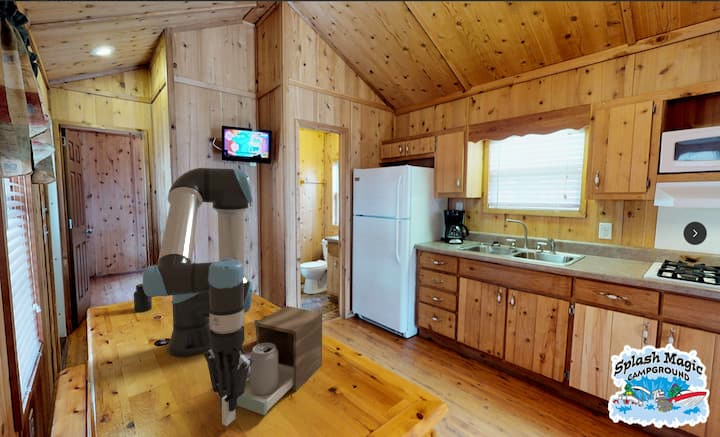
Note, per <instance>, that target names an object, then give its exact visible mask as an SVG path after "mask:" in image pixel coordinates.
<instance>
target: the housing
mask: <svg viewBox="0 0 720 437" xmlns="http://www.w3.org/2000/svg"><path fill="white" fill-rule="evenodd" d="M266 316H267V317H266ZM266 316H265V317H266V318H264V317H263V318H264V319H263V318H261V319H262V320H261V319H259V320H260V321H258V322H257V338H256V345H258V344H261V343H272V344H274V345H275V346H276V349H277V350H278V363H281V364H284V365H288V366H291V367H294V385H293V386H292V387H291V388H290V389H289V390H288V391H292V392H297V391H298V390H300V388H301V387H302V386H304V385H305V383H306V382H307V381H308V380H309V379H310V378H311V377H312V376H313V375H315V373H316V372H317V371H319V369H320V368H322V366H323V312H320V311H314V310H311V309H310V310H309V309H304V308H300V307H299V308H298V307H294V306H289V305H285V306H284V307H281V308H280V309H277V310H276V311H275V312H272V313H271V314H269V316H268V315H266Z"/></svg>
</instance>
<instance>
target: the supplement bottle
mask: <svg viewBox="0 0 720 437" xmlns="http://www.w3.org/2000/svg"><path fill="white" fill-rule="evenodd" d="M152 299H153V298H152V297H150V296H147V295H146V294H145V292H144V290H143V283H139V284H136V285H135V291H134V292H133V307H134V308H133V310H134V312H135V313H145V312H148V311H150V310H152V308H153V304H152V303H153V300H152Z"/></svg>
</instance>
